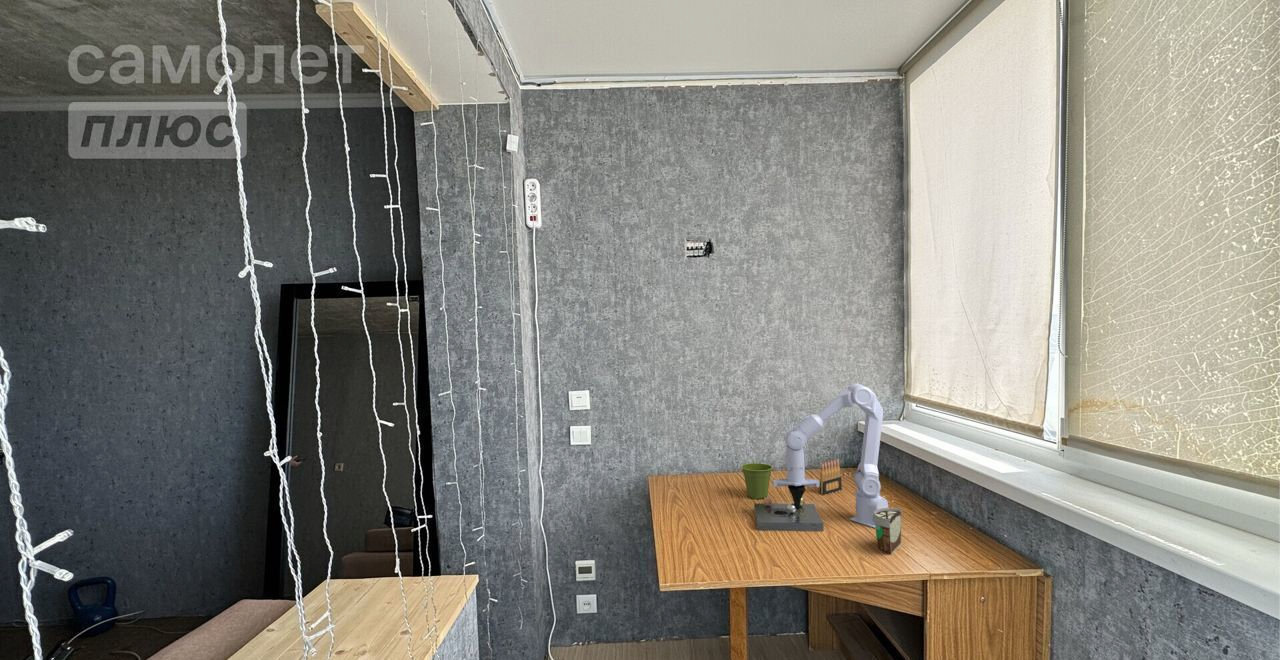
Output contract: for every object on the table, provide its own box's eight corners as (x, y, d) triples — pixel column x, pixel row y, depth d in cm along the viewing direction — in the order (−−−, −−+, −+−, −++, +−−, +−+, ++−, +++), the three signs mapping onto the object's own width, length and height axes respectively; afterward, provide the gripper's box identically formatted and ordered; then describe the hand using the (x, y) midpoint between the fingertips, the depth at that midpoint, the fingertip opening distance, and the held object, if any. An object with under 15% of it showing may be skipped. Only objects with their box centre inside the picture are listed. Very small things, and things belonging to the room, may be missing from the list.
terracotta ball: (774, 506, 201) (774, 497, 201) (767, 507, 200) (767, 499, 200) (768, 503, 204) (767, 495, 204) (761, 505, 202) (761, 496, 202)
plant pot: (777, 501, 214) (776, 470, 214) (744, 501, 215) (743, 471, 214) (770, 491, 226) (769, 462, 226) (739, 492, 226) (738, 463, 226)
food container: (880, 537, 176) (880, 504, 176) (902, 542, 173) (901, 508, 172) (866, 551, 167) (865, 516, 167) (889, 556, 163) (888, 520, 163)
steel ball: (799, 511, 193) (797, 501, 193) (793, 515, 192) (790, 505, 192) (792, 510, 196) (790, 501, 196) (786, 514, 194) (783, 504, 194)
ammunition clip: (823, 495, 219) (822, 463, 219) (819, 494, 221) (818, 462, 220) (842, 489, 225) (841, 458, 225) (837, 488, 227) (837, 457, 226)
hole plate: (813, 511, 202) (813, 503, 202) (823, 531, 183) (823, 523, 183) (754, 510, 205) (754, 503, 205) (758, 530, 186) (757, 522, 186)
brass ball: (807, 506, 200) (807, 495, 200) (799, 508, 198) (799, 497, 198) (799, 503, 203) (798, 493, 203) (791, 505, 201) (791, 495, 201)
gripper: (774, 470, 190) (775, 512, 191) (820, 470, 188) (821, 512, 189) (772, 464, 197) (773, 505, 198) (816, 464, 195) (818, 505, 196)
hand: (796, 508), depth 194 cm, fingers closed, pressing on steel ball
